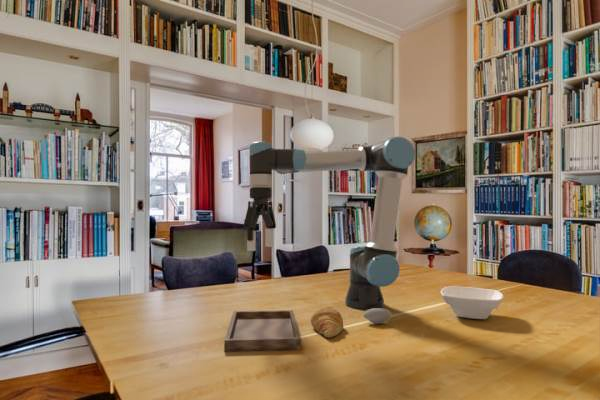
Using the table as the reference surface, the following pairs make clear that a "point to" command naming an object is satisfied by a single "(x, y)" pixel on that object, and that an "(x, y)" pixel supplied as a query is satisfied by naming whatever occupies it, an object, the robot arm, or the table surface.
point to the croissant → (327, 322)
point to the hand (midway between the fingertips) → (260, 248)
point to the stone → (377, 315)
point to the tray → (262, 331)
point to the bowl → (471, 301)
